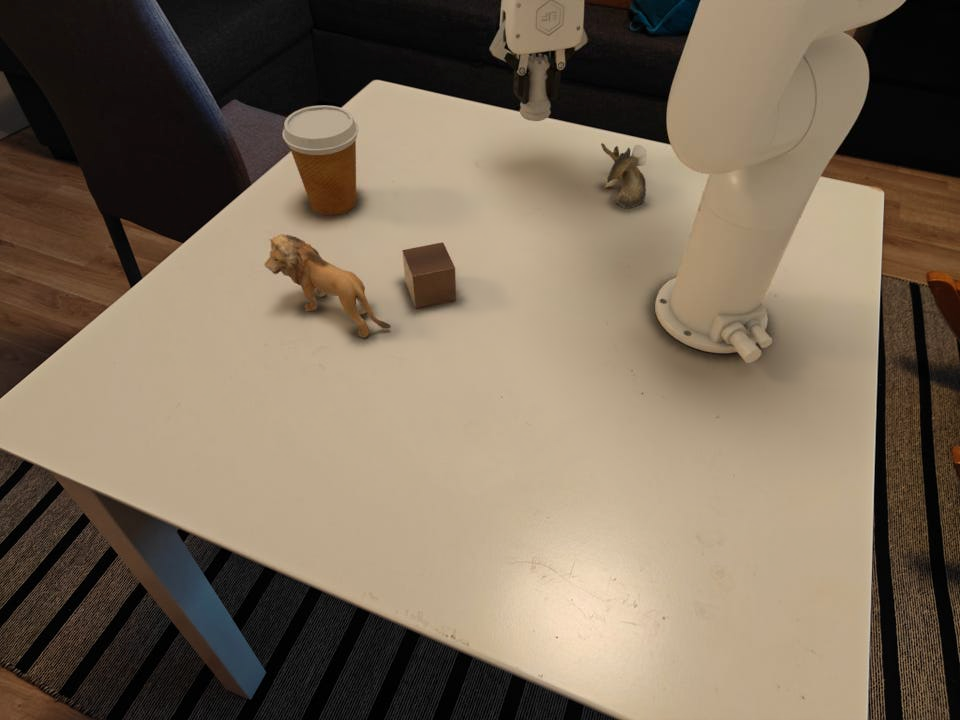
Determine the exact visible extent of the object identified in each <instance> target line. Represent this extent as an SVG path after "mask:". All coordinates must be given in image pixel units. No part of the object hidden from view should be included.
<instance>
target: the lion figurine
mask: <svg viewBox="0 0 960 720" xmlns="http://www.w3.org/2000/svg"><path fill="white" fill-rule="evenodd" d="M269 241H270V251H269V257H268V259H267V260H266V261H265V262H264V268H266V269H268V271H270V272H271V273H272V274H273V275H278V274H280V273H282V275H283V276H286V277H289V278H290V280H291V281H292V282H293V283H294V284H297V285H298V286H300V287H301V290H302V292H303V295H304V296H305V298H306V300H307V301H308V302H306V303H305V304H304V309H305V311H306V312H314V311H315V310H316V309H317V308H318V301H317V299H316V297H315V295H316V296H317V297H318V298H322V297H324V296H326V295H327V296H331V297H338V300H339V303H340V305H341V306H342V308H343V311H344V312H345V313H346V314H347V316H348V317H349V318H350V319H351V320H352V321H353V322H355V323H356V324H357V326H358V327H359V328H358V330H357V334H358V337H360V338H362V339H363V338H367V337H368V336H369V335H370V328H369V325H368V324H367V322H366V320H365V319H364V318H363V317H362V316H361V315H364V314H366V313H367V315H368V316H369V318H370V320H371V321H372V322H374V323H375V324H376V325H377V326H379V327H380V328H382V330H383V329H384V330H385V329H386V330H388V329H390V328H391V325H390V323H388V322H384V321H382V320H380V319H378V318H377V317H376V316H375V314H374V313H373V311H372V308H371V306H370V304H369V302H368V299H367V297H366V295H365V291H366V287H365V285H364V283H363V281H362V280H361V278H360V277H358V275H356V273H354V272H352V271H350V270H346V269H342V268H340V267H338V266H336V265H334V264H331V263H330V262H328V261H326V260H325V259H323V258H322V256H320V253H319V252H318V250H317V249H315V247H313V246H312V245H311V244H310V243H307V242H306V241H304V240H302V239H300V238H298V237H297V236H294V235H291V234H282V233H281V234H278V235H277V236H274V237H272V238H269ZM357 302H358V303H359V305H358V306H357Z"/></svg>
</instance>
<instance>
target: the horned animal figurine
mask: <svg viewBox="0 0 960 720" xmlns="http://www.w3.org/2000/svg"><path fill="white" fill-rule="evenodd" d="M600 146H601V149H602V150H603V152H604V153H605V154H606V155H608V156H609V157H610V158H611V159H612V160H613V165H612V166H611V168H610V171H609V174H608V176H607V178H606V179H607V180H606V185H605V186H604V188H605V189H607V188H609V187H612V186H614V185H615V184H616V183H617V182H618V181H621V182H622V184H621V189H620V192H619V193H618V195H617V197H616V200H615V203H616V204H618V206H619V207H622V208H623V209H631V208H635V207H636V206H639V205H640V204H642V203H643V202H644V200H645V198H646V195H647V193H646V192H647V188H646V187H647V186H646V185H647V184H646V178H645V176H644V174H643V172H641V170H640V169H639V167H642V166H645V164H646V162H647V149H646V147H644V146H643V145H641V144H635V145H634V146H633V149H632V152H631V148H630V147H627V149H626V150H625V151H624V152H621V153H620V151H619V150H620V149H619V146H618V145H616V146H615V147H614V148H613V151H611V150H610V149H609V148H608V147H606V145H605V143H603V142H601V143H600Z"/></svg>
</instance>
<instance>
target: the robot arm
mask: <svg viewBox="0 0 960 720" xmlns="http://www.w3.org/2000/svg"><path fill="white" fill-rule="evenodd" d="M906 1H907V0H700V1H699V4H698V7H697V8H696V12H695V16H694V18H693V21H692V24H691V26H690V29H689V33H688V35H687V39H686V41H685V44H684V47H683V50H682V54H681V56H680V59H679V62H678V64H677V68H676V70H675V73H674V76H673V79H672V84H671V86H670V91H669V95H668V99H667V106H666V131H667V136H668V141H669V144H670V147H671V149H672V151H673V152H674V154H675V156H676V158H678V160H679V161H680V162H681V164H683V165H684V166H685V167H687V168H688V169H690V170H692V171H694V172H697V173H700V174H705V175H708V177H707V180H706V181H705V182H706V183H705V186H704V189H703V192H702V195H701V198H700V201H699V203H698V207H697V211H696V213H695V217H694V221H693V224H692V228H691V230H690V234H689V237H688V240H687V243H686V246H685V250H684V253H683V257H682V260H681V262H680V265H679V266H680V267H679V269H678V273H677V275H676V277H673V278H672V279H669V280H668V281H667V282H666V283H663V285H662V287H660V289H659V290H658V292H657V295H656V299H655V302H654V312H655V315H656V318H657V320H658V321H659V323H660V326H661V327H662V328H663V329H664V330H665V331H666V332H667V333H669V335H670V336H672V337H673V338H674V339H675V340H678V342H681V343H683V344H684V345H686V346H689V347H691V348H693V349H696V350H700V351H703V352H707V353H714V354H731V353H737V354H738V355H739V357H741V359H742V360H743V361H744V362H745V363H746V364H751V363H754V362H755V361H756V360H758V359H759V358H760V357H761V356H762V352H763V351H762V350H761V349H760V348H762V349H766V348H768V347H769V346H771V345H772V344H773V340H774V339H772V337H771V336H770V335H769V334H768V333H767V332H766V329H767V327H768V320H769V319H768V313H767V311H768V309H767V308H766V307H765V306H764V304H763V301H764V299H765V297H766V294H767V292H768V290H769V288H770V286H771V284H772V282H773V279H774V277H775V275H776V272H777V270H778V268H779V266H780V263H781V262H782V259H783V257H784V254H785V252H786V250H787V248H788V246H789V243H790V242H791V239H792V237H793V235H794V233H795V230H796V228H797V226H798V224H799V222H800V219H801V218H802V216H803V214H804V211H805V210H806V207H807V205H808V203H809V200H810V198H811V197H812V194H813V192H814V191H815V188H816V186H817V184H818V183H819V181H820V178H821V177H822V175H823V173H824V171H825V170H826V168H827V166H828V164H829V163H830V161H831V160H832V159H833V157H834V156H835V154H836V153H837V151H838V149H839V148H840V147H841V145H842V144H843V142H844V140H845V139H846V137H847V136H848V134H849V133H850V131H851V129H852V128H853V126H854V125H855V123H856V121H857V120H858V118H859V116H860V113H861V111H862V109H863V107H864V104H865V101H866V98H867V94H868V90H869V83H870V68H869V63H868V58H867V56H866V53H865V52H864V50H863V48H862V47H861V45H860V44H859V43H858V41H857V40H856V39H855V38H853V37H852V36H851V35H850V34H848V33H846V32H847V31H851V30H854V29H857V28H860V27H863V26H867V25H870V24H872V23H875V22H878V21H879V20H882V19H884V18H885V17H887V16H889V15H891V14H892V13H893V12H895V11H896V10H898V9H900V7H901V6H903V4H904V3H905V2H906ZM500 5H501V6H500V13H499V14H500V16H499V28H498V30H497V32H496V34H495V37H494V38H493V40H492V42H491V44H490V46H489V49H488V51H489V53H491V55H492V56H493V57H495V58H497V59H499V60H501V61H503V62H505V63H506V64H508V65H509V66H510V67H511V68H512V69H513V94H514V96H515V97H516V98H517V99H518V100H519V101H520V103H521V102H522V103H523V104H527V103H528V102H529V84H530V76H529V74H528V73H529V72H528V68H527V65H528V60H529V56H530V54H531V55H532V54H537V53H538V54H539V53H545V52H548V62H549V64H550V66H549V68H548V69H547V70H546V74H547V78H546V94H547V96H548V99H550V100H551V101H553V100H557V97H558V91H559V90H560V86H561V74H562V70H564V68H565V67H566V63H567V62H568V61H569V60H570V58H572V56H573V55H574V54H575V52H576V51H578V50H580V49H581V48H582V47H583V46H584V45H586V44H587V43H588V40H589V38H588V36H587V33H586V30H585V29H584V19H585V0H501V2H500ZM506 45H507V48H508V49H507V48H505V46H506ZM757 344H758V345H759V346H760V348H759V347H758V345H757Z"/></svg>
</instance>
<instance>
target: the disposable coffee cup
mask: <svg viewBox="0 0 960 720" xmlns="http://www.w3.org/2000/svg"><path fill="white" fill-rule="evenodd" d="M283 124H284V126H283V130H282V138H283V141H284V142H285V143H286V145H287V146H288V147H289V150H290V151H291V155H292V157H293V160H294V163H295V165H296V168H297V171H298V173H299V176H300V179H301V182H302V184H303V187H304V190H305V192H306V193H305V194H306V196H307V198H308V202H309V203H310V206H311V209H312V210H313V211H314V212H316V213H318V214H320V215H324V216H337V215H342V214H345V213H347V212H349V211H351V210H352V209H353V208H354V207H355V206H356V205H357V144H356V143H357V142H356V140H357V137H358V133H359V126H358V123H357V122H356V121H355V119H354V117H353V115H352V114H351V112H349V111H348V110H347V109H345V108H342V107H339V106H335V105H324V104H323V105H321V104H320V105H311V106H306V107H303V108H300V109H298V110H295V111H293V112H292V113H290V114H289V115H288V116H286V119H285V121H284V123H283Z"/></svg>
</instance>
